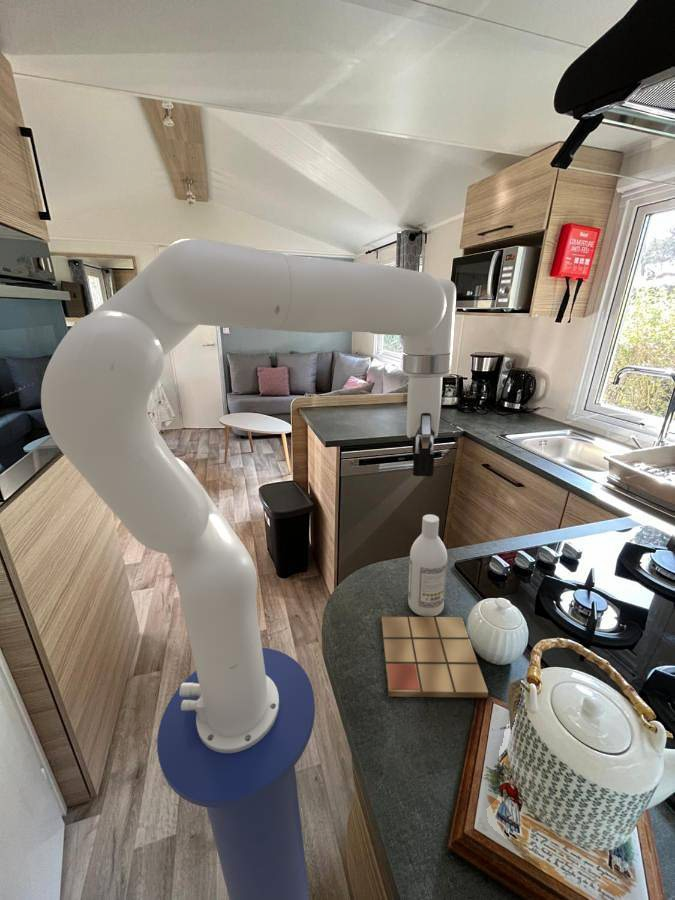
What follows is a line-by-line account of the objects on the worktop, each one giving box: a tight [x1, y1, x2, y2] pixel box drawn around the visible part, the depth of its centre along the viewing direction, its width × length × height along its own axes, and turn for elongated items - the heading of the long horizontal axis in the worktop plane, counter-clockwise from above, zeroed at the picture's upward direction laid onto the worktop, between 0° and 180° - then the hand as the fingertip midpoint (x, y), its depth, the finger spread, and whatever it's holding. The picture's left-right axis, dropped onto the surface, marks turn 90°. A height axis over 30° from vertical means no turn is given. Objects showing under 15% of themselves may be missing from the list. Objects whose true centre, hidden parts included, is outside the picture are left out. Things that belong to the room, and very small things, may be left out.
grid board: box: [381, 615, 489, 699], centre depth 65 cm, size 15×15×1 cm
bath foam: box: [407, 513, 448, 617], centre depth 73 cm, size 7×7×20 cm
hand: (421, 464), depth 66 cm, fingers open, 9 cm apart
